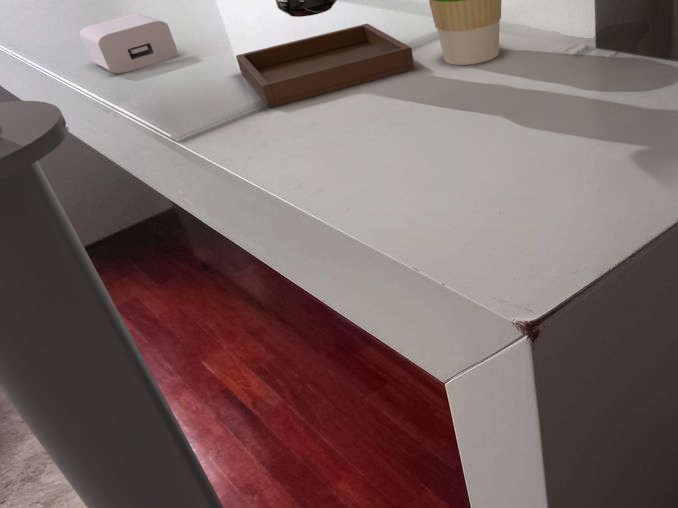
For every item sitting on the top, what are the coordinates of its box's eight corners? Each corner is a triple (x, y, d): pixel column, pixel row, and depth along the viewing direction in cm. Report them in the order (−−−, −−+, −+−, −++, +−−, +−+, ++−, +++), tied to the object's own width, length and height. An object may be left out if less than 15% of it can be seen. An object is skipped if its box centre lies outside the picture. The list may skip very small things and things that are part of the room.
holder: (269, 108, 72) (262, 86, 70) (241, 75, 82) (235, 55, 81) (414, 69, 76) (411, 47, 75) (371, 42, 87) (367, 23, 85)
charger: (142, 41, 103) (179, 55, 93) (80, 58, 99) (112, 76, 89) (129, 6, 100) (165, 18, 90) (64, 23, 96) (95, 37, 86)
